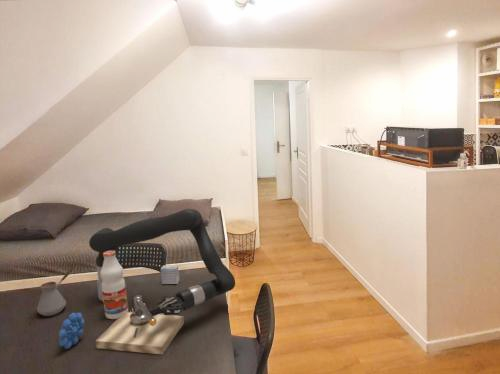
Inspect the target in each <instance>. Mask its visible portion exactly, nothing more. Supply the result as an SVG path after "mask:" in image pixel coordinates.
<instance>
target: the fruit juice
mask: <svg viewBox="0 0 500 374" xmlns="http://www.w3.org/2000/svg"><path fill="white" fill-rule="evenodd" d="M115 255H116V252H115V251H114V250H110V251H106V252H104V253H103V257H104V262H103V266H102V269H101V271H100V276H101V279H102V285H101V286H102V295H103V301H102V303H103V308H104V310H103V311H104V315H105V318H106V319H108V320H109V319H110V320H117V319H118V318H120V317H121V316H122V315H123V314H124V313H125V312H129V304H128V297H127V296H128V295H127V288H126V281H125V279H124V268H123V266H122V265H121V264H120V262H119V261H118V258H117V259H116V257H115Z"/></svg>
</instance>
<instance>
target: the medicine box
mask: <svg viewBox="0 0 500 374" xmlns="http://www.w3.org/2000/svg"><path fill="white" fill-rule="evenodd" d="M160 277H161V285H162V284H177V285H178V284H179V283H180V273H179V265H177V264H176V265H174V264H173V265H169V264H168V265H162V266H161V268H160Z"/></svg>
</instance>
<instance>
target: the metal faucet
mask: <svg viewBox="0 0 500 374" xmlns="http://www.w3.org/2000/svg"><path fill="white" fill-rule="evenodd" d="M133 302H134V303H133V304H134V310H135V311H133V312H132V314H131V315H130V322H131V323H132V324H134V325H141V324H144V323H147V322H148V321H149V323H150V325H151V326H154V325H155V324H156V319H154V317H153V316H152V314H151V313H150V312H149V310H150V309H148V307H147V306H146V305H145V302H143V296H142V295H140V294H135V295H134V296H133Z"/></svg>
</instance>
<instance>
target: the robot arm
mask: <svg viewBox="0 0 500 374" xmlns="http://www.w3.org/2000/svg"><path fill="white" fill-rule="evenodd" d="M180 231H182V232H183V231H190V233H191V235H192V236H193V237H194V239H195V241H196V244H197V247H198V251H199V254H200V257H201V260H202V262H203V264H204V265H205V268H206V270H207V271H208V272H209V274H211V275H215V279H212V280H210V281H205V282H202V283H200V284H197V285H193V286H189V287H187V288H184V289H181V290H180V291H179V290H178V291H177V292H176V295H175V296H170V297H169V298H167V296H163V297H161V299H160V300H159V301H158V302H157V303H156V304H157V305H156V307H153V308H150V309H148V310H149V312H150V313H151V314H152V316H155V315H157V314H160V315H174V316H178V315H181V311H184V312H185V311H187V310H188V309H191V308H193V307H196V306H199V305H200V304H202V303H204V302H206V301H209V300H211V299H212V298H214V297H218V296H220V295H223V294H225V293H228V292H230V291H231V290H233V289H234V288H235V286H236V280H235V277H234V275H233V274H232V272H231V271H230V269H228V267H227V266H226V265H225V264H224V262H223V260H222V259H221V257H220V255H219V254H218V252H217V250H216V248H215V246H214V244H213V241H212V240H211V238H210V235H209V234H208V230H207V228H206V226H205V222H204V219H203V217H202V214H201V213H200V211H198V210H197V209H192V208H185V209H183V210H180V211H177V212H174V213H172V214H169V215H164V216H159V217H158V216H157V217H151V218H146V219H142V220H138V221H136V222H133V223H130V224H128V225H124V226H123V227H121V228H118V229H116V230H113V229H111V228H109V227H104V228H102V229H100V230H98V231H97V232H95V233H93V235H91V237H90V238H89V240H88V244H89V247H90V249H92V251H94V252H97V253H98V254H97V257H96V259H95V265H96V270H97V271H96V272H97V280H96V288H97V294H98V300H99V301H101V302H103V295H102V286H101V285H102V279H101V276H100V271H101V269H102V266H103V262H104V257H103V253H104V252H106V251H110V250H114V251H115V252H116V255H115V257H116V259H117V260H118V257H119V247H121V246H126V245H133V244H137V243H142V242H146V241H151V240H155V239H157V238H159V237H163V236H164V235H166V234H168V233H169V234H170V233H174V232H180Z"/></svg>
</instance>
